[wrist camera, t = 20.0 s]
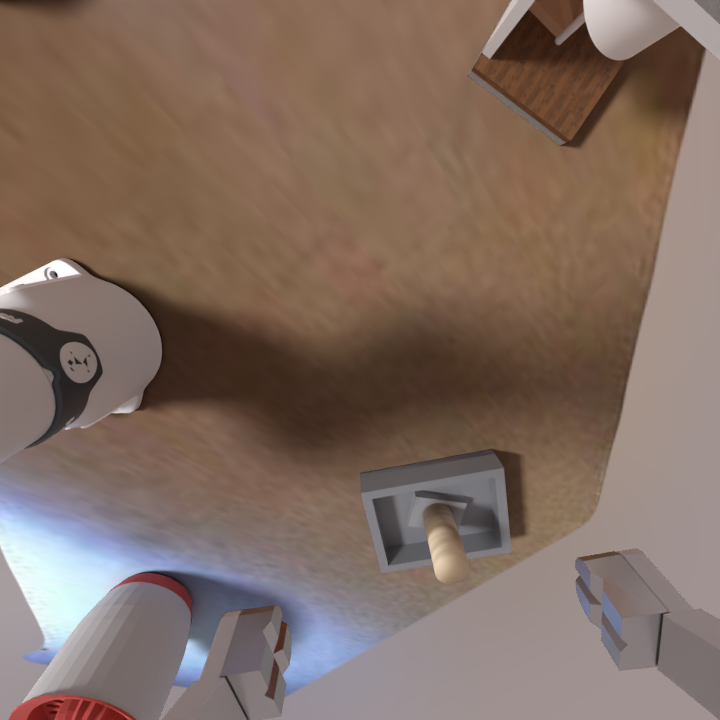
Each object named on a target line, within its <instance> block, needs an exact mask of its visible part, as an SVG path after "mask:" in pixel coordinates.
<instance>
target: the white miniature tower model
mask: <svg viewBox="0 0 720 720" xmlns="http://www.w3.org/2000/svg"><path fill="white" fill-rule="evenodd" d="M680 26H682V27H683V28H684V29H685V30H686V31H687V32H688V33H689V34H690V35H692V36H693V37H694V38H695V39H696V40H697V41H698V42H699V43H700V44H702V45H703V46H704V47H705V48H706V49H707V50H708V51H709V52H710V53H711V54H713V55H714V56H715V57H716V58H717V59H718V60H719V61H720V0H510V2H509V3H508V5H507V7H506V9H505V10H504V12H503V14H502V16H501V17H500V19H499V21H498V23H497V24H496V26H495V28H494V30H493V32H492V33H491V35H490V37H489V39H488V40H487V42H486V44H485V46H484V47H483V49H482V51H481V53H480V54H479V56H478V58H477V60H476V61H475V63H474V65H473V67H472V68H471V70H470V72H469V74H468V75H467V76H468V77H470V78H471V79H472V80H474V81H475V82H476V83H478V84H479V85H480V86H482V87H483V88H484V89H485V90H487V91H488V92H489V93H491V94H492V95H493V96H495V97H496V98H497V99H499V100H500V101H501V102H503V103H504V104H505V105H507V106H508V107H509V108H511V109H512V110H513V111H515V112H516V113H517V114H518V115H520V116H521V117H522V118H524V119H525V120H526V121H528V122H529V123H530V124H532V125H533V126H534V127H536V128H537V129H538V130H540V131H541V132H542V133H544V134H545V135H546V136H548V137H549V138H550V139H552V140H553V141H554V142H555V143H557V144H558V145H559V146H560V145H562V144H564V143H567V142H569V141H571V140H572V138H573V137H574V135H575V134H576V133H577V131H578V130H579V128H580V127H581V125H582V124H583V122H584V121H585V119H586V118H587V116H588V115H589V114H590V112H591V111H592V109H593V108H594V106H595V105H596V103H597V102H598V100H599V99H600V97H601V96H602V95H603V93H604V92H605V90H606V89H607V87H608V86H609V84H610V83H611V81H612V80H613V78H614V77H615V75H616V74H617V73H618V71H619V70H620V68H621V67H622V65H623V64H624V62H625V61H626V59H629V58H631V57H633V56H634V55H636V54H637V53H639V52H641V51H642V50H644V49H645V48H647V47H648V46H650V45H652V44H653V43H655V42H656V41H658V40H660V39H661V38H663V37H664V36H666V35H667V34H669V33H671V32H672V31H674V30H675V29H677V28H679V27H680Z"/></svg>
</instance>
